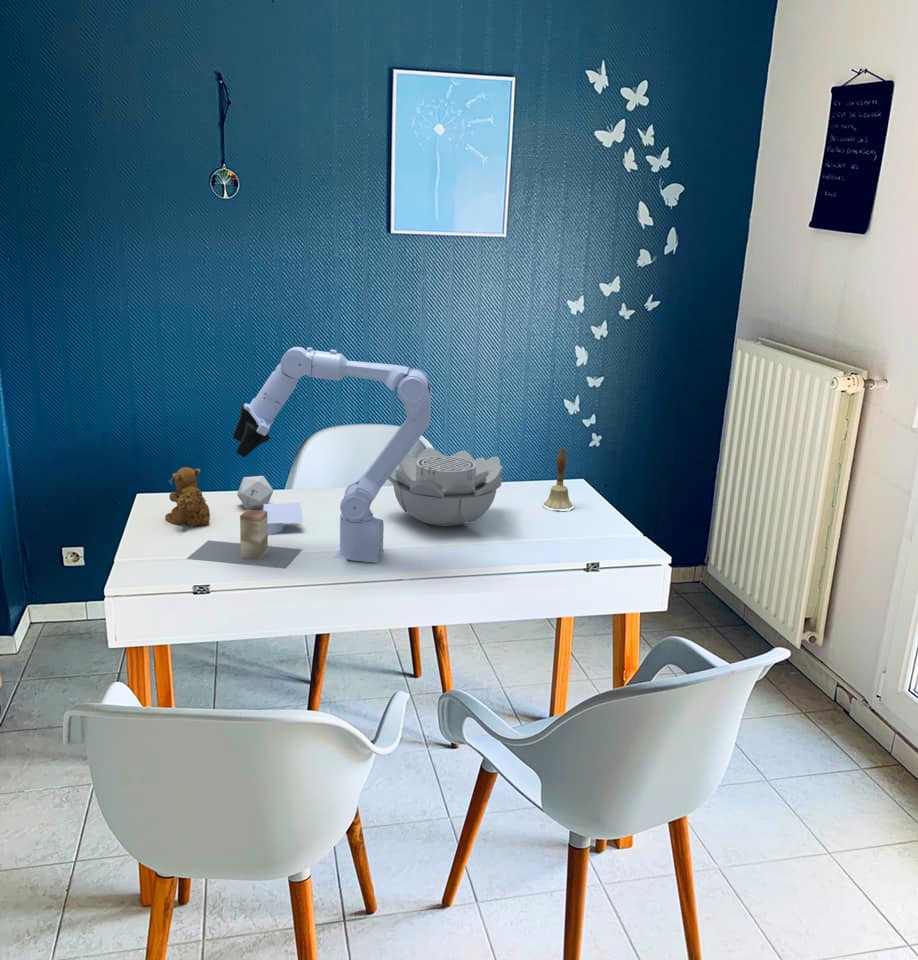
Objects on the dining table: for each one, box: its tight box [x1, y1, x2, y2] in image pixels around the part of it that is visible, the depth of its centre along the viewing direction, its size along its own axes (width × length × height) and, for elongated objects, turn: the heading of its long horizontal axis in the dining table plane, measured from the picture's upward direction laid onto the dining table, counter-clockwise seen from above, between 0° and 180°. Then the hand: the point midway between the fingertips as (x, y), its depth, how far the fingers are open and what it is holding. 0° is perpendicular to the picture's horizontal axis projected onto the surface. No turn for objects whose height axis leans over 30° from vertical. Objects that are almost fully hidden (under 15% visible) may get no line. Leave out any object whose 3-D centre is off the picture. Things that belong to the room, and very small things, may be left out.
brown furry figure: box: [164, 466, 211, 528], centre depth 226 cm, size 10×14×13 cm
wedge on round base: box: [261, 502, 304, 536], centre depth 224 cm, size 9×7×13 cm
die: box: [236, 475, 274, 510], centre depth 241 cm, size 8×9×10 cm
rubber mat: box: [186, 540, 303, 569], centre depth 208 cm, size 22×12×1 cm, turn 82°
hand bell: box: [543, 448, 574, 509], centre depth 251 cm, size 8×8×16 cm
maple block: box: [239, 509, 269, 559], centre depth 206 cm, size 4×4×10 cm
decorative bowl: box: [387, 447, 503, 527], centre depth 236 cm, size 30×30×15 cm
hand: (238, 446), depth 205 cm, fingers open, 7 cm apart
